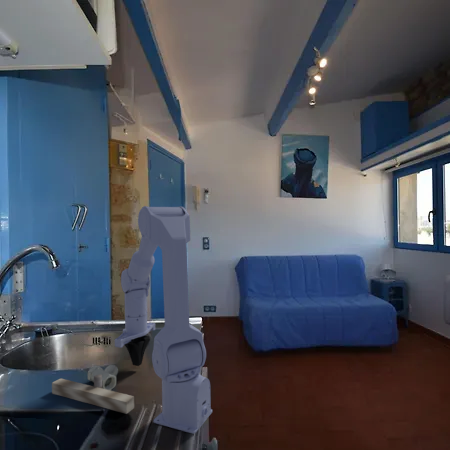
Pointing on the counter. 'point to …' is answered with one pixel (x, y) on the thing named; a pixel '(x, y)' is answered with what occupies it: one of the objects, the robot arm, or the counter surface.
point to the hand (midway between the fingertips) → (137, 364)
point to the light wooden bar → (94, 394)
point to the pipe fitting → (104, 376)
